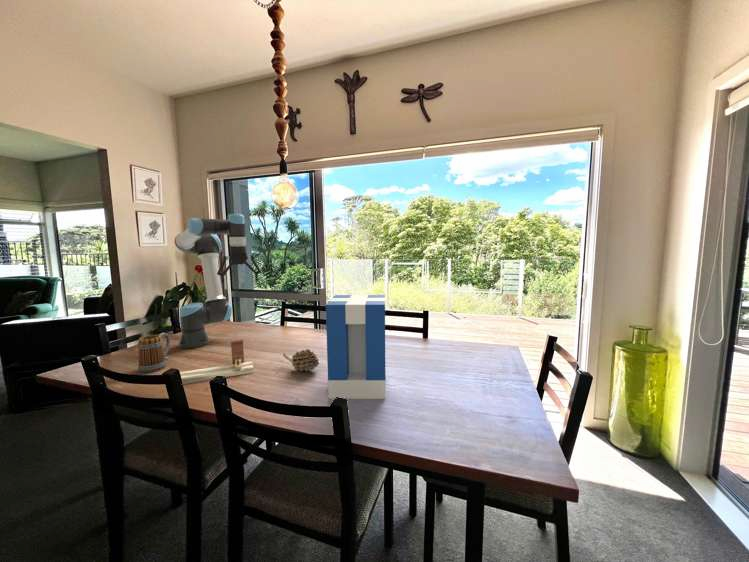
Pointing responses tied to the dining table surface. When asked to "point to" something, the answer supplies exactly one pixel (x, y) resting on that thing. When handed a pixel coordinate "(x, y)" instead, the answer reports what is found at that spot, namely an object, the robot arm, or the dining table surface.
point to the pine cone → (303, 360)
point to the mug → (153, 352)
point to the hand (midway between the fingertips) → (240, 288)
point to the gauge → (237, 353)
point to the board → (215, 372)
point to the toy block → (356, 346)
